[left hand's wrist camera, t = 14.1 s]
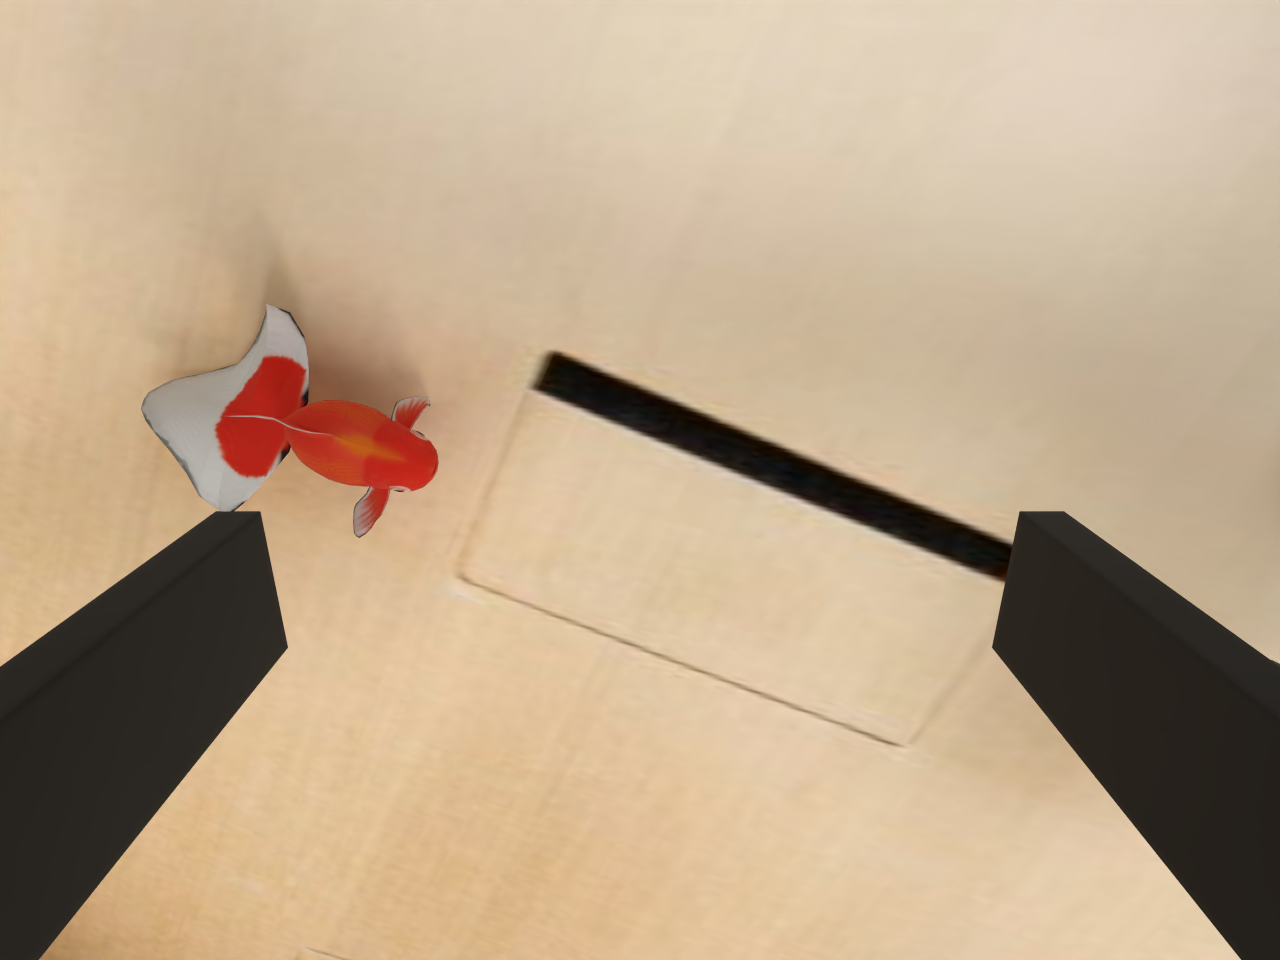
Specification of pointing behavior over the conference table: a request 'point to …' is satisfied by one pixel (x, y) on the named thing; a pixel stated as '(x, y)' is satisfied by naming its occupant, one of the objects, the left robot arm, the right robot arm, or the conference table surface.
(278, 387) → the fish
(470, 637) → the conference table surface
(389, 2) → the conference table surface
